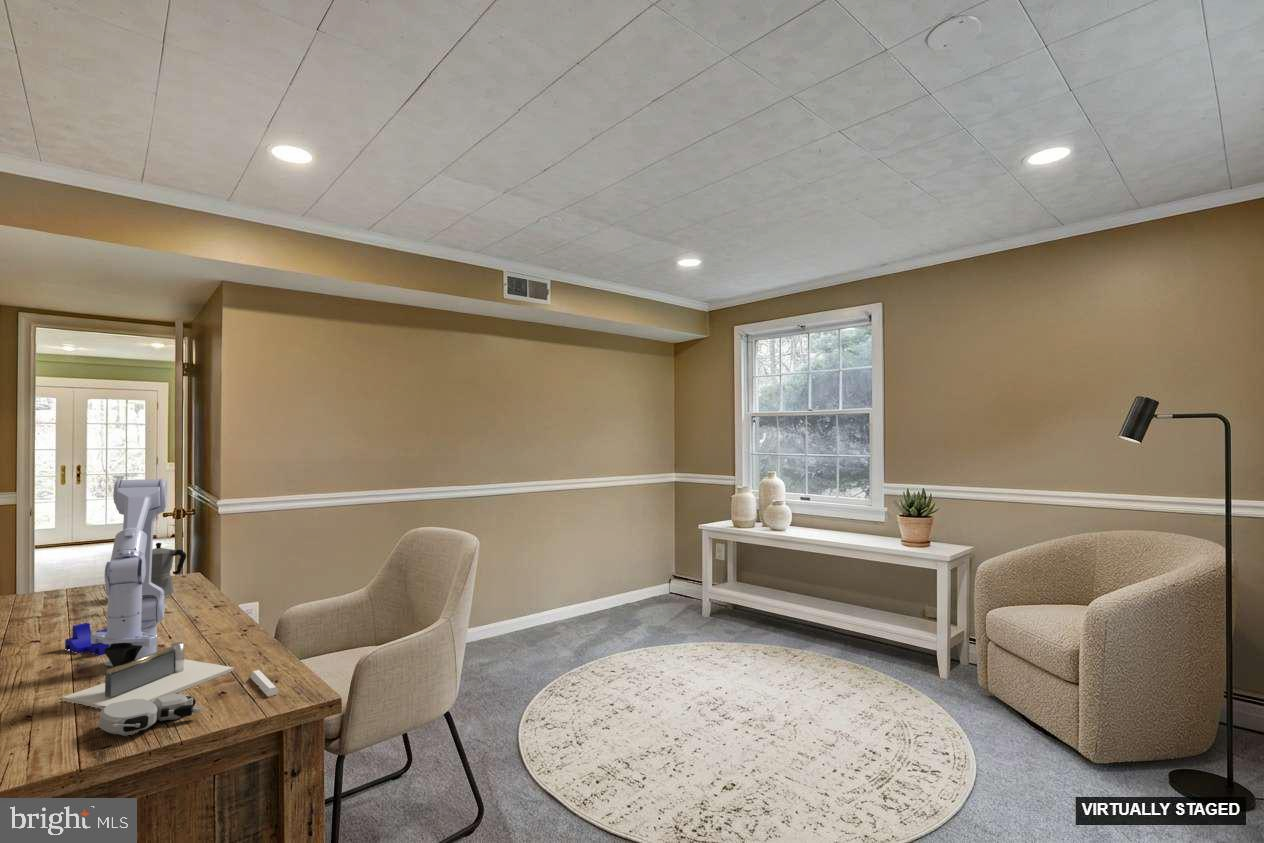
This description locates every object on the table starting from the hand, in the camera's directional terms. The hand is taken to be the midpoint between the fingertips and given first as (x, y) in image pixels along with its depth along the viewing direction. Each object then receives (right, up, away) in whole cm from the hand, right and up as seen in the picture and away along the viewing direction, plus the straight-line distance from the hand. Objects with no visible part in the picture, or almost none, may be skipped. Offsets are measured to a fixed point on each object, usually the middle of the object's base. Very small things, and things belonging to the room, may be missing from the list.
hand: (123, 678), depth 135 cm
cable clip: (-29, -4, +25) cm, 38 cm away
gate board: (+3, -3, +4) cm, 6 cm away
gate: (+2, -2, +2) cm, 4 cm away
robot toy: (+16, -3, -14) cm, 22 cm away
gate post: (+4, -3, +10) cm, 11 cm away
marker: (+27, -4, +5) cm, 28 cm away
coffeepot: (-50, -4, +78) cm, 93 cm away
